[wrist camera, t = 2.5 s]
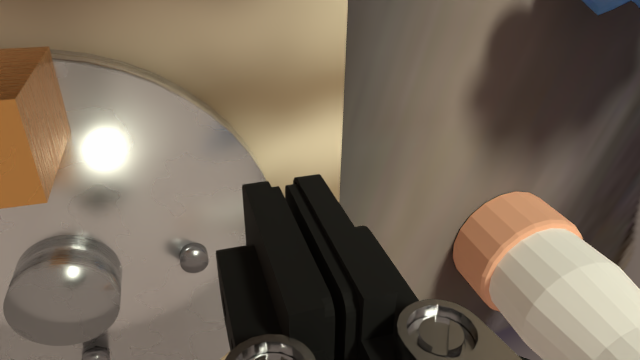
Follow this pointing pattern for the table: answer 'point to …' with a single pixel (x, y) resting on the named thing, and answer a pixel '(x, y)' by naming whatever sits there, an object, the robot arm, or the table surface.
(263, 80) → the base board
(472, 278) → the pepper shaker
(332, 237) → the robot arm
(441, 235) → the table surface
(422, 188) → the table surface
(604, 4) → the grapes
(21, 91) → the flange
